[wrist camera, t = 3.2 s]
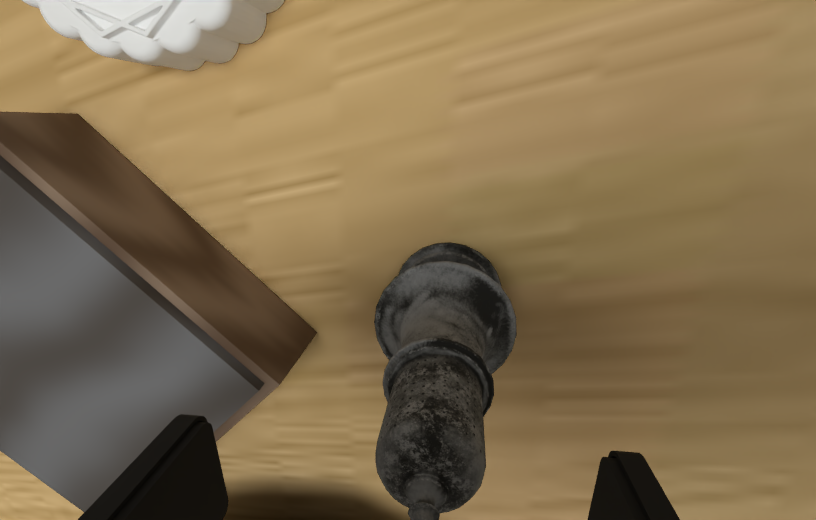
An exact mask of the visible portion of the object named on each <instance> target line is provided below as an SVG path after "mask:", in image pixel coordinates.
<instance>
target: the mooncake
mask: <svg viewBox="0 0 816 520" xmlns="http://www.w3.org/2000/svg"><path fill="white" fill-rule="evenodd" d="M22 1H24V2H25V3H27V4H29V5H31V6H33V7H36V8H39V9H40V11H41V14H42V16H43V17H44V19H45V21H46V22H47V23H48V25H49V26H50V27H51V28H52V29H54V30H55V31H56V32H57V33H59V34H61V35H62V36H65V37H67V38H71V39H76V40H80V41H84V43H85V44H86V45H87V46H88V47H89V48H90V49H91V50H93V51H94V52H96V53H97V54H99V55H102V56H105V57H109V58H115V59H120V60H125V61H131V62H136V63H141V64H147V65H152V66H165V67H170V68H175V69H180V70H186V71H192V70H196V69H198V68H199V67H201V66H202V65H203V64H204V62H205V61H209V62H213V63H225V62H228V61H229V60H231V59H232V58H233V57H234V55H235V54H236V52H237V50H238V46H239V43H241V44H250V43H253V42H255V41H257V40H258V39H259V38H260V37H261V36H262V34H263V32H264V30H265V27H266V13H271V12H274V11H276V10H277V9H278V8H280V7H281V5H282V4H283V3H284V1H285V0H22Z"/></svg>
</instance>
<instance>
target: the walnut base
mask: <svg viewBox="0 0 816 520" xmlns="http://www.w3.org/2000/svg"><path fill="white" fill-rule="evenodd" d="M316 333H317V332H316V331H315V330H314V329H312V328H311V327H310V326H309V325H308V324H307V323H306V322H305V321H304V320H303V319H302V318H300V317H299V316H298V315H297V314H296V313H295V312H294V311H293V310H292V309H291V308H289V307H288V306H287V305H286V304H285V303H284V302H283V301H282V300H281V299H280V298H279V297H277V296H276V295H275V294H274V293H273V292H272V291H271V290H270V289H269V288H268V287H266V286H265V285H264V284H263V283H262V282H261V281H260V280H259V279H258V278H257V277H256V276H254V275H253V274H252V273H251V272H250V271H249V270H248V269H247V268H246V267H245V266H243V265H242V264H241V263H240V262H239V261H238V260H237V259H236V258H235V257H234V256H232V255H231V254H230V253H229V252H228V251H227V250H226V249H225V248H224V247H223V246H222V245H220V244H219V243H218V242H217V241H216V240H215V239H214V238H213V237H212V236H211V235H209V234H208V233H207V232H206V231H205V230H204V229H203V228H202V227H201V226H200V225H199V224H197V223H196V222H195V221H194V220H193V219H192V218H191V217H190V216H189V215H188V214H186V213H185V212H184V211H183V210H182V209H181V208H180V207H179V206H178V205H177V204H176V203H174V202H173V201H172V200H171V199H170V198H169V197H168V196H167V195H166V194H165V193H163V192H162V191H161V190H160V189H159V188H158V187H157V186H156V185H155V184H154V183H152V182H151V181H150V180H149V179H148V178H147V177H146V176H145V175H144V174H143V173H142V172H140V171H139V170H138V169H137V168H136V167H135V166H134V165H133V164H132V163H131V162H129V161H128V160H127V159H126V158H125V157H124V156H123V155H122V154H121V153H120V152H119V151H117V150H116V149H115V148H114V147H113V146H112V145H111V144H110V143H109V142H108V141H106V140H105V139H104V138H103V137H102V136H101V135H100V134H99V133H98V132H97V131H96V130H94V129H93V128H92V127H91V126H90V125H89V124H88V123H87V122H86V121H85V120H83V119H82V118H81V117H80V116H79V115H78V114H65V113H28V112H0V451H1V452H3V453H4V454H6V455H7V456H8V457H10V458H11V459H12V460H14V461H15V462H16V463H18V464H19V465H21V466H22V467H23V468H25V469H26V470H27V471H29V472H30V473H31V474H33V475H34V476H36V477H37V478H38V479H40V480H41V481H42V482H44V483H45V484H46V485H48V486H49V487H51V488H52V489H53V490H55V491H56V492H57V493H59V494H60V495H61V496H63V497H64V498H66V499H67V500H68V501H70V502H71V503H72V504H74V505H75V506H76V507H78V508H79V509H81V510H82V511H83V512H85V511H86V510H87V509H88V508H89V507H90V506H91V505H92V504H93V503H94V502H95V501H96V500H97V499H98V498H99V497H100V496H101V495H102V494H103V493H104V491H105V490H106V489H107V488H108V487H109V486H110V485H111V484H112V483H113V482H114V481H115V480H116V479H117V478H118V477H119V476H120V475H121V474H122V473H123V471H124V470H125V469H126V468H127V467H128V466H129V465H130V464H131V463H132V462H133V461H134V460H135V459H136V458H137V457H138V456H139V455H140V454H141V453H142V452H143V450H144V449H145V448H146V447H147V446H148V445H149V444H150V443H151V442H152V441H153V440H154V439H155V438H156V437H157V436H158V435H159V434H160V433H161V432H162V431H163V429H164V428H165V427H166V426H167V425H168V424H169V423H170V422H171V421H172V420H173V419H174V418H175V417H176V416H178V415H180V414H185V415H197V416H204V417H205V418H206V419H207V422H208V423H210V424H211V425H212V428H213V432H214V437H215V441H217V440H219V439H220V438H221V437H222V436H223V435H224V434H225V433H226V432H227V431H229V430H230V429H231V428H232V427H233V426H234V425H235V424H236V423H238V422H239V421H240V420H241V419H242V418H243V417H244V416H245V415H246V414H248V413H249V412H250V411H251V410H252V409H253V408H254V407H255V406H257V405H258V404H259V403H260V402H261V401H262V400H263V399H264V398H266V397H267V396H268V395H269V394H270V393H271V392H272V391H273V390H274V389H276V388H277V387H278V386H279V385H280V384H281V382H282V381H283V380H284V378H285V377H286V375H287V374H288V373H289V371H290V370H291V368H292V367H293V366H294V364H295V363H296V361H297V360H298V358H299V357H300V356H301V354H302V353H303V351H304V350H305V349H306V347H307V346H308V344H309V343H310V342H311V340H312V339H313V337H314V336H315V335H316Z"/></svg>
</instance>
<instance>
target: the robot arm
mask: <svg viewBox="0 0 816 520" xmlns="http://www.w3.org/2000/svg"><path fill="white" fill-rule="evenodd" d="M227 507H228V496H227V491H226V487H225V482H224V478H223V473H222V469H221V464H220V459H219V455H218V450H217V446H216V441H215V437H214V432H213V428H212V425H211V424H210V423H208V422H207V419H206V418H205V417H204V416H197V415H185V414H180V415H178V416H176V417H175V418H174V419H173V420H172V421H171V422H170V423H169V424H168V425H167V426H166V427H165V428H164V429H163V431H162V432H161V433H160V434H159V435H158V436H157V437H156V438H155V439H154V440H153V441H152V442H151V443H150V444H149V445H148V446H147V447H146V448H145V449H144V450H143V452H142V453H141V454H140V455H139V456H138V457H137V458H136V459H135V460H134V461H133V462H132V463H131V464H130V465H129V466H128V467H127V468H126V469H125V470H124V471H123V473H122V474H121V475H120V476H119V477H118V478H117V479H116V480H115V481H114V482H113V483H112V484H111V485H110V486H109V487H108V488H107V489H106V490H105V491H104V493H103V494H102V495H101V496H100V497H99V498H98V499H97V500H96V501H95V502H94V503H93V504H92V505H91V506H90V507H89V508H88V509H87V510H86V511H85V512H84V514H83V515H82V516H81V517H80V518H79V519H78V520H223V518H224V516H225V514H226V511H227ZM588 520H680V519H679V517H678V516H677V514H676V512H675V510H674V509H673V507H672V505H671V503H670V502H669V500H668V498H667V496H666V495H665V493H664V491H663V489H662V488H661V486H660V484H659V482H658V481H657V479H656V477H655V476H654V474H653V472H652V470H651V469H650V467H649V465H648V463H647V462H646V460H645V458H644V457H643V456H642V455H641V454H640V453H634V452H622V451H611V452H610V453H609V456H608V457H602V459H601V462H600V466H599V471H598V475H597V480H596V484H595V489H594V493H593V498H592V502H591V507H590V511H589V516H588Z"/></svg>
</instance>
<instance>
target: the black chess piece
mask: <svg viewBox="0 0 816 520" xmlns="http://www.w3.org/2000/svg"><path fill="white" fill-rule="evenodd" d="M374 323H375V330H376V336H377V340H378V342H379V344H380V346H381V348H382V351H383V353H384V354H385V355H386V356H387V358H388V359H389V363H388V365H387V367H386V369H385V371H384V378H383V388H384V395H385V397H386V399H387V401H388V405H387V408H386V412H385V416H384V419H383V423H382V426H381V430H380V433H379V437H378V441H377V447H376V467H377V473H378V475H379V477H380V479H381V481H382V483H383V484H384V486H385V488H386V490H387V491H388V492H389V493H390V495H391V496H392V497H393V498H394V499H395V500H397V501H398V502H400V503H401V504H402V505H404V506H406V507H408V508H409V511H408V515H409V517H410V519H411V520H439V516H440V514H439V513H444V512H449V511H452V510H454V509H457V508H459V507H461V506H462V505H463V504H465V503H466V502H467V501H469V500H470V499H471V498H472V497H473V496H474V494H475V493H476V492H477V490H478V489H479V488H480V486H481V483H482V480H483V476H484V472H485V468H486V458H485V440H484V424H483V417H484V415H485V414H486V412H487V411H488V409H489V408H490V406H491V403H492V399H493V396H494V384H493V378H492V375H491V374H492V373H494V372H495V371H496V370H497V369H498V368H499V367H500V366H502V365H503V363H504V362H505V360H506V359H507V357H508V356H509V354H510V353H511V351H512V348H513V345H514V341H515V338H516V316H515V313H514V310H513V307H512V304H511V301H510V299H509V298H508V296H507V295H506V293H505V292H504V291H503V289H502V288H501V283H500V280H499V277H498V274H497V272H496V270H495V269H494V267H493V266H492V264H491V263H490V262H489V260H488V259H486V258H485V257H484V256H483V255H482V254H480V253H479V252H478V251H476V250H474V249H472V248H470V247H467V246H465V245H461V244H455V243H437V244H433V245H430V246H427V247H424V248H422V249H420V250H419V251H417V252H416V253H414V254H413V255H411V256H410V258H409V259H408V260H407V261H406V262H405V263H404V264H403V266H402V268H401V270H400V272H399V275H398V276H397V277H395V278H394V279H393V280H392V282H391V283H390V284H389V285H388V286H387V287H386V288H385V290H384V291H383V293H382V295H381V297H380V300H379V302H378V304H377V306H376V314H375V321H374Z"/></svg>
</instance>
